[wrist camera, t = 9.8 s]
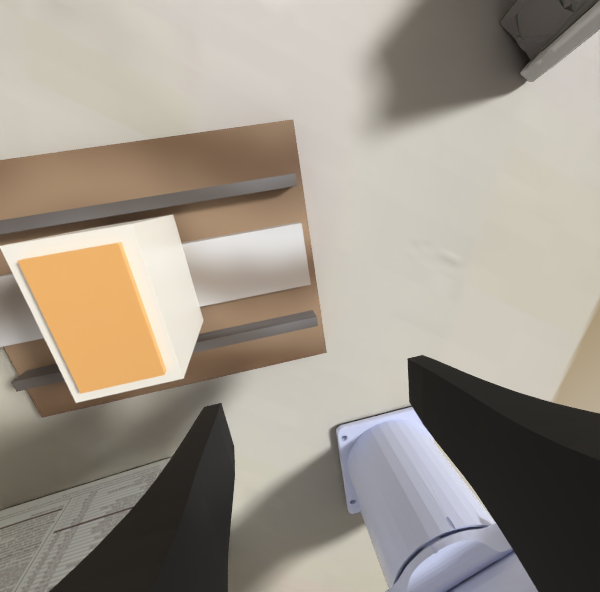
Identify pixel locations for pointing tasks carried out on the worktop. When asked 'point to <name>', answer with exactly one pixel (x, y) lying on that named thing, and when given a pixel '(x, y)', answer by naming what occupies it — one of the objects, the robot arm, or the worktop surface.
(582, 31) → the electrical switch
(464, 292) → the worktop surface
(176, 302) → the rail module
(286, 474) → the worktop surface
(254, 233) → the mounting board
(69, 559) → the supplement box
